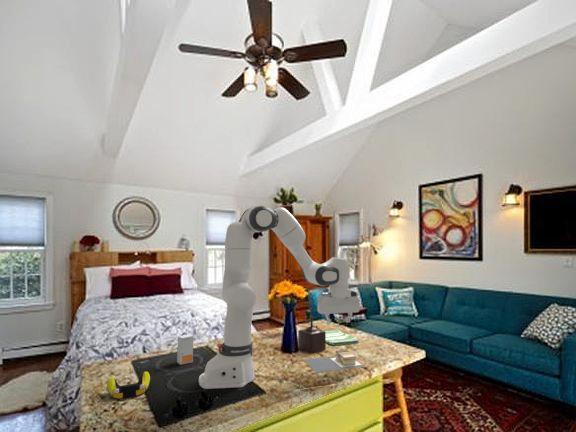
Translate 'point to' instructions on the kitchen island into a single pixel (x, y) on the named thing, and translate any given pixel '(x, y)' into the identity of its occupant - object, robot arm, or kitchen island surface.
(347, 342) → the dish towel
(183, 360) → the skincare box
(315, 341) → the manual coffee grinder
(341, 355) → the tan rectangular block
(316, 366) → the mat
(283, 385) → the kitchen island surface
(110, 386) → the gaming controller
